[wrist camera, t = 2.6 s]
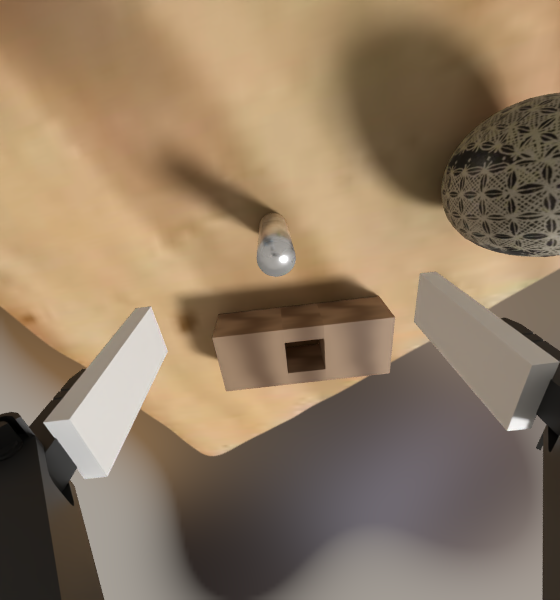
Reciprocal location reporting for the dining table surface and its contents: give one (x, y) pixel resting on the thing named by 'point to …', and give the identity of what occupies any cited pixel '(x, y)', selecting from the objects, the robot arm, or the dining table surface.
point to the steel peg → (275, 246)
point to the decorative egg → (509, 180)
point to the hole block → (309, 358)
